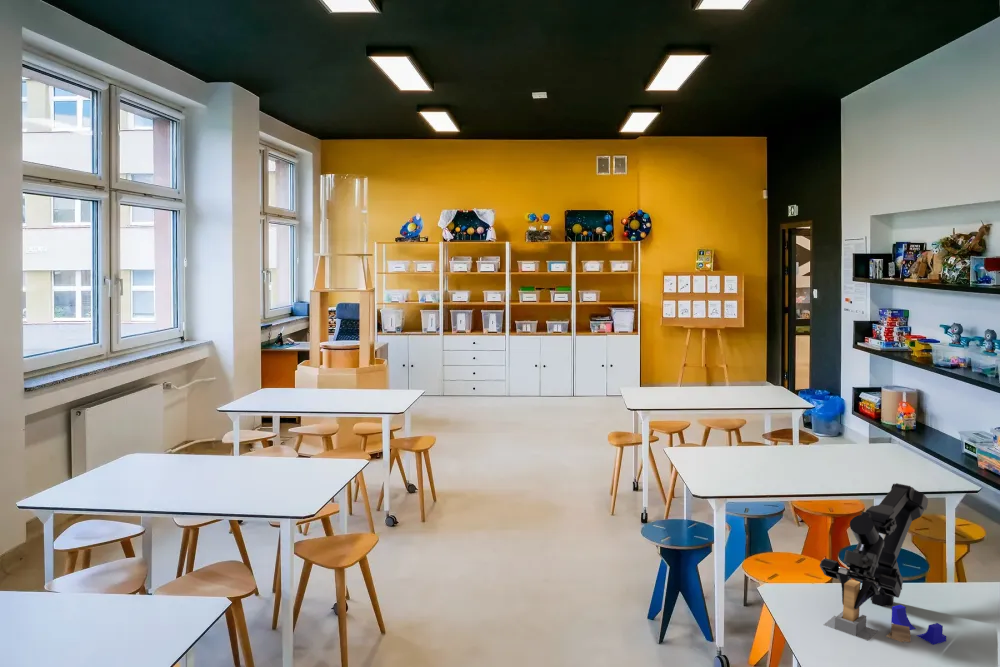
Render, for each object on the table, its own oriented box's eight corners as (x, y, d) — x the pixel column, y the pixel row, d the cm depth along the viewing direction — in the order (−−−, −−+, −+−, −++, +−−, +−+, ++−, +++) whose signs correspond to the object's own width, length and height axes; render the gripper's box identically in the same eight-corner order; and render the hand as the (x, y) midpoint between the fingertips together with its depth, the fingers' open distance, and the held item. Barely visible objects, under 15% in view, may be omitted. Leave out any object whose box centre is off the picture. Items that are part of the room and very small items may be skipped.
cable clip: (945, 647, 181) (947, 624, 180) (932, 651, 179) (934, 627, 179) (903, 625, 192) (904, 603, 191) (891, 628, 190) (892, 606, 190)
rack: (834, 621, 194) (834, 604, 193) (877, 636, 186) (878, 619, 186) (823, 630, 189) (823, 613, 189) (867, 646, 181) (868, 628, 181)
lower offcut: (893, 635, 187) (894, 628, 187) (915, 643, 184) (915, 635, 183) (885, 644, 183) (885, 636, 183) (906, 651, 180) (907, 643, 179)
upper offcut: (891, 630, 186) (891, 623, 186) (908, 633, 184) (909, 626, 184) (891, 638, 182) (892, 631, 182) (910, 642, 180) (910, 635, 180)
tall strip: (848, 623, 190) (850, 579, 189) (858, 626, 188) (860, 582, 187) (842, 628, 187) (844, 583, 186) (852, 632, 185) (854, 586, 184)
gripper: (823, 528, 195) (804, 580, 188) (899, 548, 181) (880, 604, 175) (834, 549, 201) (816, 600, 194) (908, 569, 187) (891, 625, 181)
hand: (849, 606), depth 186 cm, fingers closed on tall strip, 2 cm apart
